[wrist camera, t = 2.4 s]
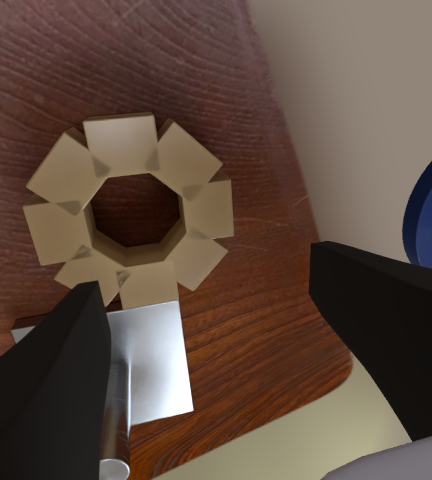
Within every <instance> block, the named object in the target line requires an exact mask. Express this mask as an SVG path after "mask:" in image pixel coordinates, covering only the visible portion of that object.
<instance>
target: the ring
mask: <svg viewBox="0 0 432 480" xmlns="http://www.w3.org/2000/svg"><path fill="white" fill-rule="evenodd" d="M82 123H83V127H84V132H85V135H84V134H83V133H81V132H80V131H78V130H77V129H76V128H74V127H72V128H70V129H68V130H67V131H65V132H63V133H62V134H61V136H60V137H59V139H58V140H57V142H56V143H55V144H54V146H53V147H52V149H51V150H50V151H49V153H48V154H47V156H46V157H45V159H44V160H43V161H42V163H41V164H40V166H39V167H38V169H37V170H36V171H35V173H34V174H33V176H32V177H31V178H30V180H29V181H28V183H27V184H26V187H27V188H28V189H29V190H31V191H33V192H34V194H33V195H32V197H31V198H30V199H29V200H28V201H27V202H26V203H25V204H24V205H23V206H22V208H23V211H24V214H25V217H26V220H27V223H28V227H29V230H30V233H31V236H32V239H33V243H34V246H35V249H36V252H37V255H38V258H39V262H40V265H48V264H54V263H60V264H59V266H58V269H57V271H56V273H55V276H54V280H56V281H57V282H59V283H61V284H63V285H65V286H67V287H69V288H71V289H73V288H74V287H75V286H76V285H77V284H78V283H84V282H90V281H96V280H98V282H99V286H100V290H101V294H102V298H103V302H104V306H105V307H106V306H107V305H108V304H109V303H110V302H111V300H112V299H113V298H114V297H115V296H116V294H117V293H118V292H119V294H120V298H121V303H122V307H123V310H125V309H131V308H136V307H142V306H147V305H153V304H158V303H164V302H169V301H175V300H179V294H178V287H177V282H178V283H180V284H182V285H183V286H185V287H186V288H188V289H190V290H191V291H194V290H195V289H196V288H197V287H198V286H199V284H200V283H201V282H202V281H203V280H204V279H205V277H206V276H207V275H208V274H209V273H210V272H211V271H212V269H213V268H214V267H215V266H216V265H217V264H218V262H219V261H220V260H221V259H222V258H223V257H224V256H225V254H226V253H227V252H228V249H227V248H226V246H225V244H224V243H223V241H222V239H221V238H223V237H229V236H234V226H233V208H232V189H231V180H230V179H229V178H228V177H227V176H226V175H225V174H224V173H223V172H221V171H220V170H219V168H220V167H221V166H222V165H223V163H222V162H221V161H220V160H219V159H217V158H216V157H215V156H214V155H213V154H212V153H210V152H209V151H208V150H207V149H206V148H205V147H204V146H202V145H201V144H200V143H199V142H198V141H197V140H195V139H194V138H193V137H192V136H191V135H190V134H188V133H187V132H186V131H185V130H184V129H183V128H181V127H180V126H179V125H178V124H177V123H176V122H174V121H173V120H172V119H170V118H168V119H167V120H166V121H165V123H164V124H163V125H162V127H161V128H160V129H159V131H158V132H157V131H156V124H155V116H154V115H153V114H152V112H141V113H130V114H118V115H107V116H95V117H89V118H87V119H86V120H84V121H83V122H82ZM143 173H151V174H152V175H153V176H155V177H156V178H157V179H159V180H160V181H161V182H163V183H164V184H165V185H167V186H168V187H169V188H171V189H172V190H173V191H175V192H176V193H177V197H178V205H179V213H180V218H179V219H178V221H177V222H176V223H175V224H174V226H173V227H172V228H171V229H170V230H169V232H168V233H167V234H166V235H165V237H164V238H163V239H162V240H161V242H160V243H154V244H147V245H141V246H134V247H128V248H125V247H124V246H122V245H121V244H119V243H117V242H116V241H114V240H113V239H111V238H109V237H108V236H106V235H105V234H103V233H101V232H100V231H98V230H97V228H96V224H95V220H94V215H93V211H92V206H91V202H90V200H91V199H92V198H93V196H94V195H95V194H96V192H97V191H98V190H99V188H100V187H101V186H102V184H103V183H104V182H105V180H106V179H107V178H109V177H118V176H126V175H135V174H143Z"/></svg>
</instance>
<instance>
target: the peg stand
mask: <svg viewBox="0 0 432 480" xmlns="http://www.w3.org/2000/svg"><path fill="white" fill-rule="evenodd" d="M105 310H106V314H107V318H108V322H109V326H110V330H111V366H110V373H109V381H108V388H107V395H106V402H105V409H104V416H103V423H102V432H101V443H100V471H99V480H126V479H127V478H128V476H129V473H130V426H132V425H137V424H141V423H145V422H149V421H153V420H157V419H161V418H166V417H170V416H174V415H178V414H182V413H186V412H191V411H193V410H194V408H193V401H192V393H191V386H190V378H189V371H188V364H187V356H186V349H185V342H184V334H183V327H182V319H181V312H180V305H179V300H175V301H169V302H164V303H158V304H153V305H147V306H142V307H136V308H131V309H125V310H123V307H122V303H121V301H120V302H115V303H109V304H108V305H107V306H106V307H105ZM46 316H47V315H42V316H36V317H31V318H25V319H20V320H16V321H15V323H14V325H13V327H12V329H11V333H12V336H13V339H14V341H15V344H16V343H18V342H19V341H20V340H21V339H22V338H23V337H24V336H25V335H26V334H28V333H29V332H30V331H31V330H32V329H33V328H34V327H35V326H36V325H37V324H38V323H39V322H41V321H42V320H43V319H44V318H45V317H46Z"/></svg>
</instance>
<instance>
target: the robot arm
mask: <svg viewBox="0 0 432 480" xmlns="http://www.w3.org/2000/svg"><path fill="white" fill-rule="evenodd" d="M309 295H310V296H311V298H312V300H313V302H314V303H315V305H316V307H317V308H318V310H319V312H320V313H321V315H322V316H323V318H324V319H325V320H326V321H327V323H328V324H329V325H330V326H331V328H332V329H333V330H334V331H335V332H336V334H337V335H338V336H339V337H340V338H341V340H342V341H343V342H344V343H345V344H346V346H347V347H348V348H349V349H350V351H351V352H352V353H353V354H354V355H355V357H356V358H357V359H358V360H359V361H360V363H361V364H362V365H363V366H364V367H365V369H366V370H367V372H368V373H369V374H370V376H371V377H372V379H373V380H374V382H375V383H376V384H377V386H378V388H379V389H380V391H381V392H382V394H383V395H384V397H385V398H386V400H387V401H388V403H389V404H390V406H391V407H392V409H393V411H394V412H395V414H396V415H397V417H398V419H399V420H400V422H401V424H402V425H403V427H404V428H405V430H406V431H407V433H408V435H409V437H410V438H411V440H412V442H411V443H407V444H404V445H400V446H397V447H393V448H390V449H387V450H383V451H380V452H376V453H373V454H370V455H366V456H362V457H360V458H358V459H356V460H354V461H352V462H350V463H347V464H346V465H343V466H341V467H339V468H337V469H335V470H333V471H331V472H328V473H327V474H326V475H325V476H324V477H323V478H322V479H321V480H432V269H431V268H426V267H422V266H417V265H413V264H409V263H405V262H401V261H398V260H394V259H390V258H387V257H384V256H380V255H377V254H374V253H370V252H367V251H364V250H361V249H357V248H354V247H351V246H347V245H343V244H340V243H336V242H331V241H324V242H318V243H312V244H311V254H310V278H309ZM110 366H111V330H110V326H109V322H108V318H107V314H106V310H105V306H104V302H103V298H102V294H101V290H100V286H99V282H98V280H96V281H90V282H84V283H78V284H77V285H76V286H75V287H74V288H73V289H72V290H71V291H70V292H69V293H68V294H67V295H66V296H65V297H64V298H63V299H62V300H61V301H60V302H59V303H58V304H57V305H56V306H55V307H54V309H53V310H52V311H51V312H50V313H49V314H48V315H47V316H46V317H45V318H44V319H43V320H42V321H41V322H39V323H38V324H37V325H36V326H35V327H34V328H33V329H32V330H31V331H30V332H29V333H28V334H26V335H25V336H24V337H23V338H22V339H21V340H20V341H19V342H18V343H16V344H15V345H14V346H13V347H12V348H10V349H9V350H8V351H7V352H5V353H4V354H3V355H2V356H0V480H99V471H100V443H101V432H102V423H103V416H104V409H105V402H106V395H107V388H108V381H109V373H110Z"/></svg>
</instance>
